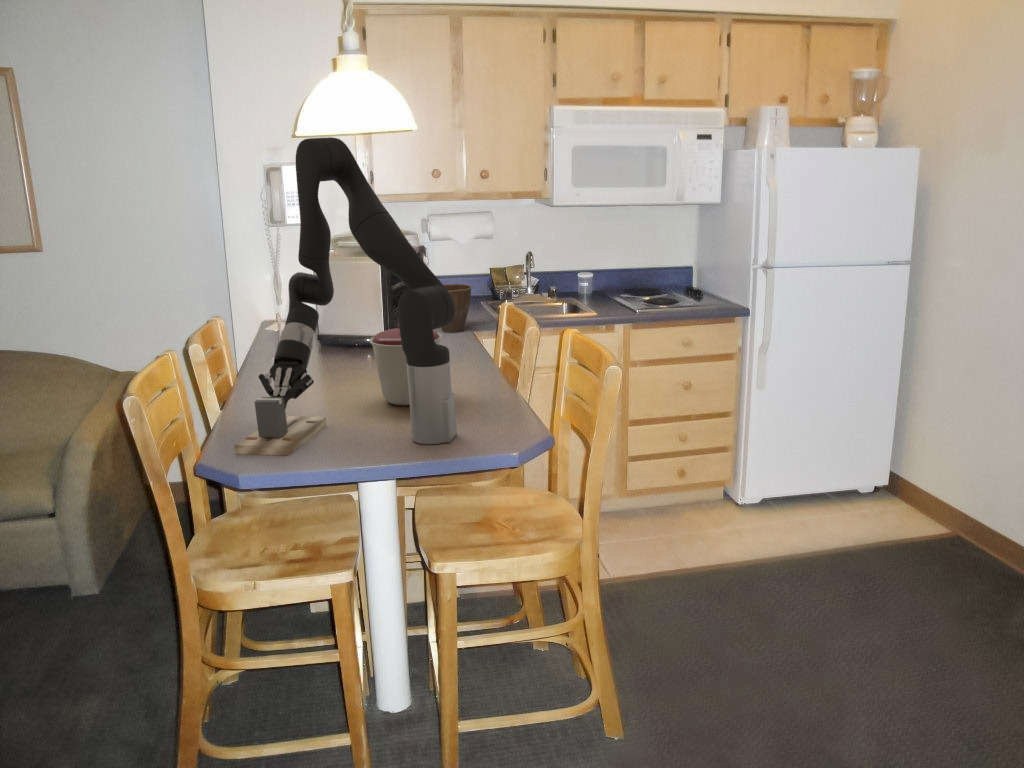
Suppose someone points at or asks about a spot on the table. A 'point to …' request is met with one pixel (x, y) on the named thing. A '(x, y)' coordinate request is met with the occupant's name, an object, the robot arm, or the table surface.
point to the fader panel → (295, 437)
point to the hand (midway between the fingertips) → (276, 413)
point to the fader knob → (271, 417)
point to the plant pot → (458, 306)
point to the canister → (393, 365)
